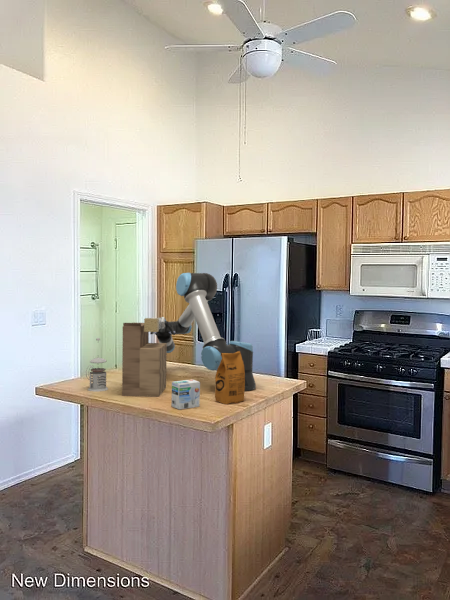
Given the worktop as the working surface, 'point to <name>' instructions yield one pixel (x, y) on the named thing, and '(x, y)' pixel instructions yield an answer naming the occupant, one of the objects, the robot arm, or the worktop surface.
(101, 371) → the french press
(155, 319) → the wooden bar
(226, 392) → the coffee package
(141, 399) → the worktop surface
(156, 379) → the stepped stand
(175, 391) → the light bulb box
